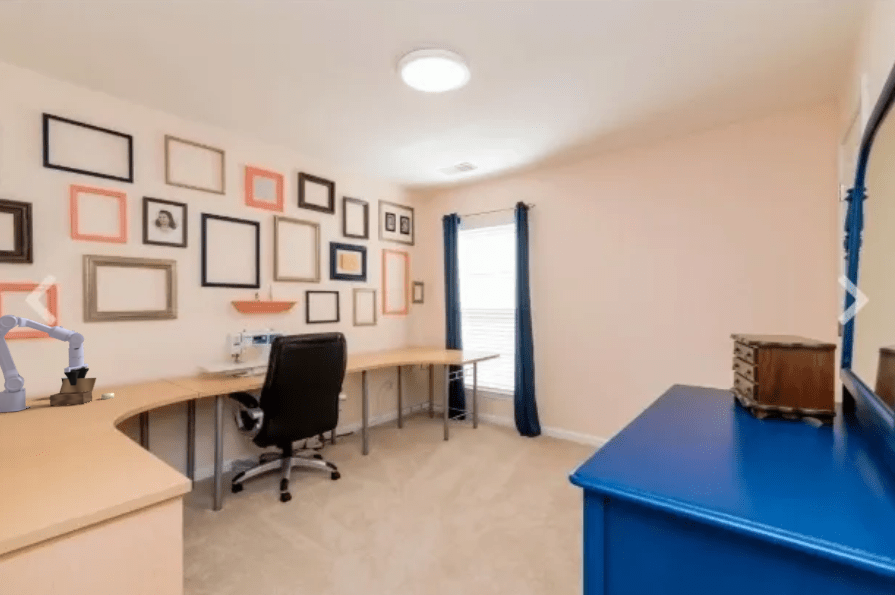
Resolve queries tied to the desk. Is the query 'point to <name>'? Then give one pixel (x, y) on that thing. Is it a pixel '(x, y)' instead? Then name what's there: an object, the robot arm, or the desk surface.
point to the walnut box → (71, 398)
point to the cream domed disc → (107, 396)
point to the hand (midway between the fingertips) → (77, 384)
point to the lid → (78, 385)
